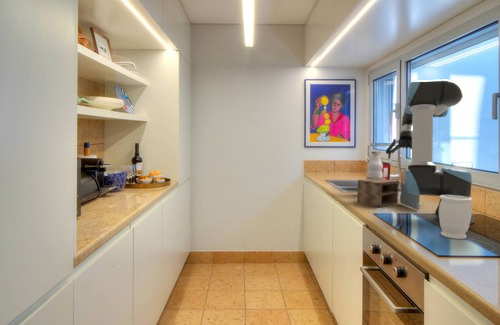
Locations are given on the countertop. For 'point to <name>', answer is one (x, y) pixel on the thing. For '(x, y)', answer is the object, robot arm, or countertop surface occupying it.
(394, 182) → the cabinet
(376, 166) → the white ceramic bottle shape
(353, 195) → the countertop surface
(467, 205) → the jar
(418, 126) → the robot arm
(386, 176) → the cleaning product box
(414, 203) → the door
